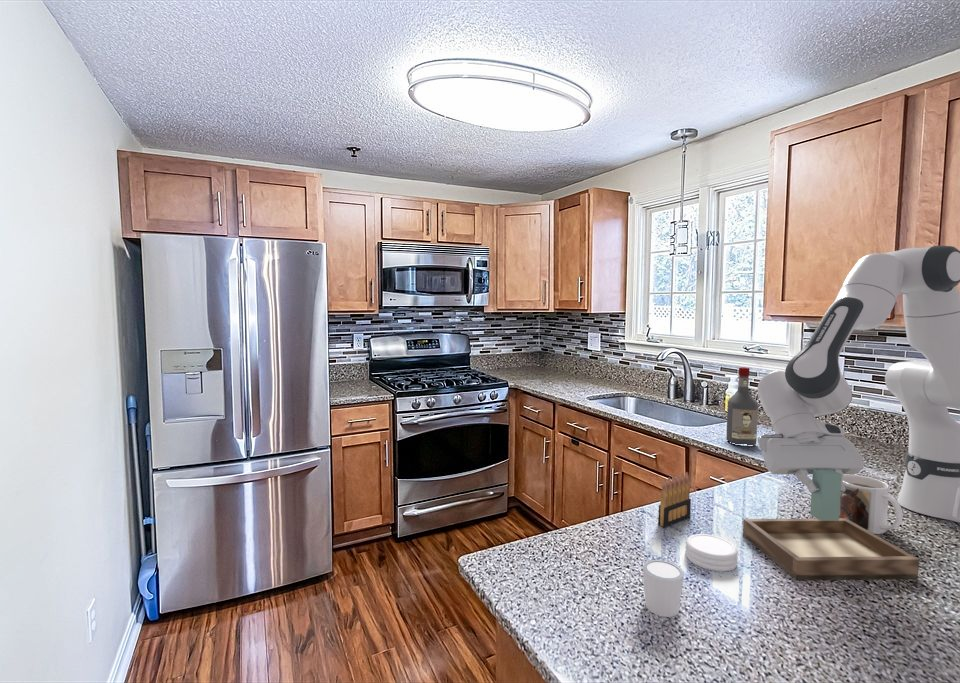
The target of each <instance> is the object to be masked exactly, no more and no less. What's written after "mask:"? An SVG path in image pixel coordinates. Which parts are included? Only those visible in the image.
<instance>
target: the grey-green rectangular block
mask: <svg viewBox="0 0 960 683" xmlns="http://www.w3.org/2000/svg"><path fill="white" fill-rule="evenodd" d="M811 480H812V481H813V482H818V484H819V487H820V489H821V490H820V491H819V492H818V493H811V497H810V509H809V510H810V512H809V515H810V516H812V517H814V519H819V520H820V521H834V520H839V510H840V495H841V480H842V474H840V473H838V472H836V471H833V470H822V469H813V474H812V477H811Z"/></svg>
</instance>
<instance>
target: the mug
mask: <svg viewBox="0 0 960 683" xmlns="http://www.w3.org/2000/svg"><path fill="white" fill-rule="evenodd" d="M842 483H843V484H844V486H845V488H846V491H844V492H843V493H841V495H840V510H839V518H846V519H848V520H850V521H852V522H853V523H855V524H857V525H859V526H860V527H862V528H864V529H866V530H868V531H869V532H871V533H873V534H875V535H881V534H884V533H886V532H887V531H890V530H895V529H897V528H898V527H900V525H901V524H902V522H903V517H904V514H903V513H904V512H903V509H902V506H901V505H900V504H899V502H898V501H897V498H895V496H893V495H891V494H889V492H890V486H889V484H888V483H886V482H885V481H882V480H879V479H877V478H874V477H870V476H865V475H858V474H844V475H843V482H842ZM889 502H890V503H891V505H892V506H893V508H894V511H895V519H894V522H893V523H892V524H891V525H887V524H888V509H889Z"/></svg>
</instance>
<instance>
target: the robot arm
mask: <svg viewBox="0 0 960 683" xmlns="http://www.w3.org/2000/svg"><path fill="white" fill-rule="evenodd" d="M959 284H960V250H959V249H958V248H956V247H955V246H953V245H933V246H925V247H923V246H922V247H910V248H909V247H907V248H902V249H900V250H895V251H889V252H885V253H883V252H873V253H870V254H869V253H868V254H867V255H864V256H863V257H861V258H860V259H858V261H857V262H856V263H855V265H854V266H853V267H852V268H851V270H850V271H849V273H848V274H847V276H846V277H845V279H844V281H843V283H842V285H841V287H840V289H839V290H838V292H837V295H836V297H835V299H834V301H833V303H832V304H831V305H830V306H829V307H828V309H827V310H826V311H825V312H824V315H822V318H821V320H820V322H819V323H818V325H817V326H816V328H815V330H814V331H813V332H812V335H811V336H810V339H809V340H808V342H807V343H806V345H805V346H804V347H803V348H802V349H801V350H800V351H799V352H797V353H796V354H795V355H794V356H793V357H792V358H791V359H790V361H788V363H787V365H786V368H785V371H783V370H774V371H771V372H770V373H767V374H766V375H764V376H763V377H762V378H761V379H760V380H759V382H758V385H757V394H758V398H759V400H760V403H761V405H762V408H763V409H764V413H765V415H766V416H768V418H769V419H770V421H771V426H772V429H773V432H774V433H773V434H771V433H770V434H767V433H763V434H761V435H760V436H758V438H757V443H758V445H759V448H760V449H761V454H762V457H763V461H764V464H765V468H766V469H767V470H768V472H769V473H771V474H772V475H795V476H796V479H797V480H799V481H800V482H801V483H802V484H803V485H805V486H806V488H807V490H808V493H818V492H819V491H820V490H821V489H820V487H819V484H818V482H813V481H812V478H810V477H809V476H808V475H813V469H822V470H833V471H836V472H838V473H840V474H842V480H841V493H843V492H844V491H846V488H845V486H844V484H843V483H842V482H843V475H857V474H858V473H860V472H861V471H862V470H863V469H864V467H865V462H864V459H863V457H862V456H861V454H860V453H859V450H858V449H857V448H856V446H855V444H854V443H853V442H852V441H851V440H850V439H848V438H847V437H845V435H846V431H845V429H844V428H843V427H842V426H839V425H835V424H832V423H828V422H825V421H823V420H822V421H821V420H820V419H817V418H819V417H824V416H830V415H833V414H837V413H840V412H842V411H844V410H845V409H847V407H848V406H850V404H851V403H852V399H853V391H852V389H851V387H850V385H849V383H848V381H847V380H846V379H845V376H844V374H842V372H841V368H840V364H839V362H840V361H839V358H840V354H841V353H842V351H843V349H844V347H845V346H846V344H847V342H848V339H850V337H851V335H852V333H853V331H854V330H855V331H868V330H874V329H876V328H878V327H880V326H882V325H883V323H885V321H887V319H888V317H889V315H891V313H892V310H893V309H894V307H895V304H896V302H897V299H898V297H899V295H902V308H903V309H902V312H903V318H904V319H903V320H904V327H905V333H906V334H905V335H906V340H907V343H908V344H909V346H910V347H911V348H913V349H914V350H916V351H917V352H919V353H920V354H922V355H923V356H924V357H925V358H926V360H927V361H924V360H923V361H922V360H908V361H899V362H895V363H894V364H892V365H891V366H890V367H889V368H888V369H887V371H886V373H885V375H884V383H885V387H886V388H887V390H888V391H889V392H890V393H891V394H892V395H893V396H894V397H895V398H896V399H897V400H898V401H899V404H900V405H901V406H902V408H903V410H904V412H905V415H906V418H907V424H908V450H907V451H906V453H905V458H904V459H905V462H904V465H905V471H904V474H903V475H904V476H903V480H902V483H901V484H902V485H901V488H900V491H898V495H897V496H898V497H897V498H896V500H897V501H898V502H899V504H900V506H901V507H903V508H905V509H907V510H910V511H912V512H915V513H919V514H921V515H924V516H925V515H926V516H928V517H929V516H930V517H933V518H936V519H937V518H938V519H943V520H949V521H952V522H955V523H956V522H957V523H958V524H960V423H959V422H958V421H956V420H955V419H954V418H953V416H951V414H950V412H949V410H948V407H949V408H953V409H958V410H960V291H959V288H958V285H959Z"/></svg>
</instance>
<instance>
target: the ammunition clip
mask: <svg viewBox="0 0 960 683" xmlns="http://www.w3.org/2000/svg"><path fill="white" fill-rule="evenodd" d="M690 495H691V494H690V478H689V472H688V471H686V472H685V474H684V473H683V472H682V473H681V474H680V475H679V473H678V474H677V475H676V477H675V475H673V476H672V477H670V476H668V477H667V479H666V478H663V480H662V484H661V493H660V504H659V505H658V518H657V520H658V521H657V525H658V527H661V528H663V529H665V528H668V527H671V526H673V525H675V524H678V523H681V522H683V521H685V520H688V519H690V518H691V515H692V514H691V512H692V511H691V510H692V509H691V507H692V506H691V505H692V504H691V503H692V502H691V498H690Z"/></svg>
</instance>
